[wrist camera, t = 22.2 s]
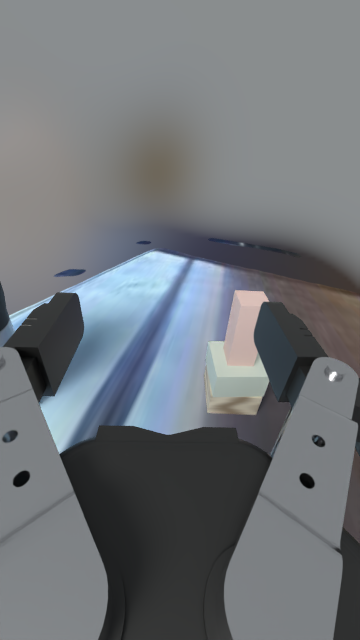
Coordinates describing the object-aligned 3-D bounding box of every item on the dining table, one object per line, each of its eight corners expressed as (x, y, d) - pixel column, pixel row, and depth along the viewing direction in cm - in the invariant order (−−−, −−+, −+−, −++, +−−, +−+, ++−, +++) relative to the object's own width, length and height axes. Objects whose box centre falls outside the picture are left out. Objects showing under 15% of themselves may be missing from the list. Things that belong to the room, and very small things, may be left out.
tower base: (207, 413, 47) (210, 395, 44) (203, 376, 54) (206, 359, 52) (255, 415, 47) (262, 398, 44) (245, 378, 55) (250, 361, 52)
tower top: (212, 397, 44) (216, 377, 41) (205, 360, 51) (208, 341, 48) (263, 396, 45) (271, 376, 42) (248, 360, 52) (254, 341, 49)
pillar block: (227, 365, 43) (241, 305, 37) (223, 347, 47) (235, 290, 40) (253, 366, 44) (272, 306, 37) (247, 348, 47) (263, 291, 40)
